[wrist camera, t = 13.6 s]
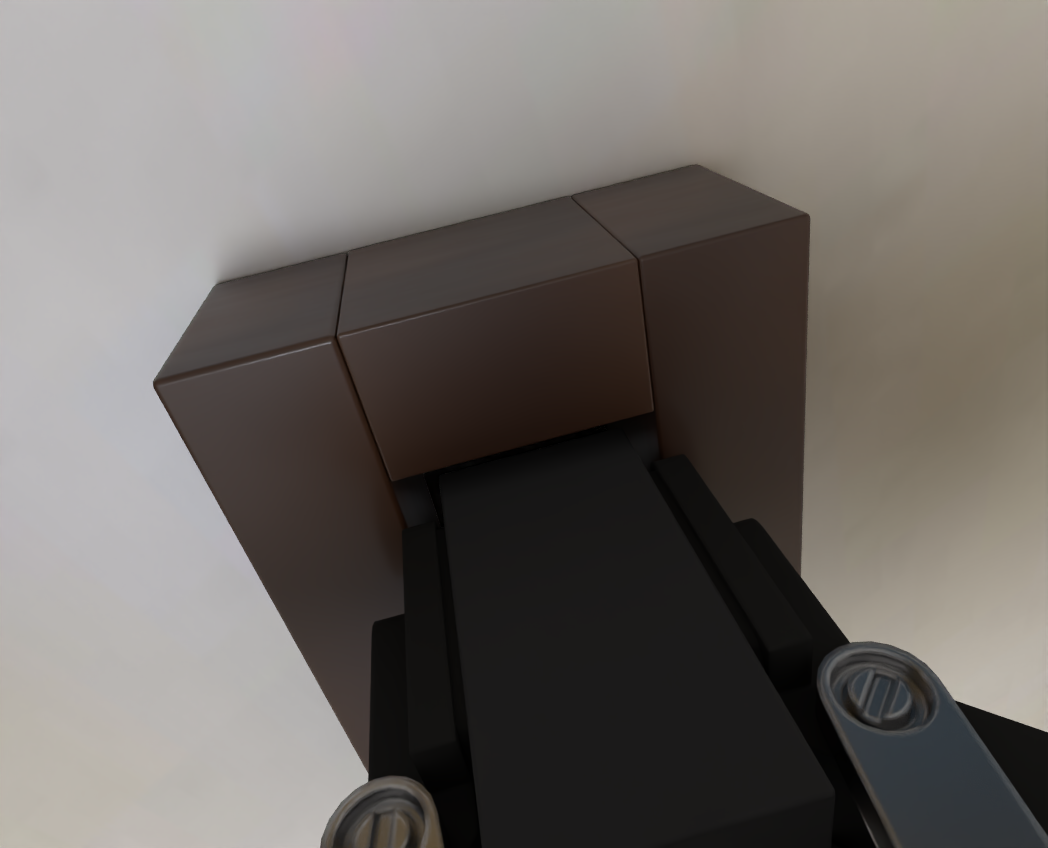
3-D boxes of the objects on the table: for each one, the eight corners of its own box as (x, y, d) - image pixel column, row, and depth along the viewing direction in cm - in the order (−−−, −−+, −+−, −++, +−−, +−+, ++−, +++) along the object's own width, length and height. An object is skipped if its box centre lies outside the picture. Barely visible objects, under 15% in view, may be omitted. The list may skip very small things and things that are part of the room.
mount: (698, 163, 13) (812, 213, 9) (728, 692, 21) (795, 820, 18) (212, 284, 12) (147, 383, 9) (439, 777, 21) (451, 925, 17)
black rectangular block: (621, 424, 12) (837, 792, 6) (641, 562, 13) (826, 949, 8) (437, 474, 11) (486, 895, 6) (481, 606, 13) (551, 1033, 8)
